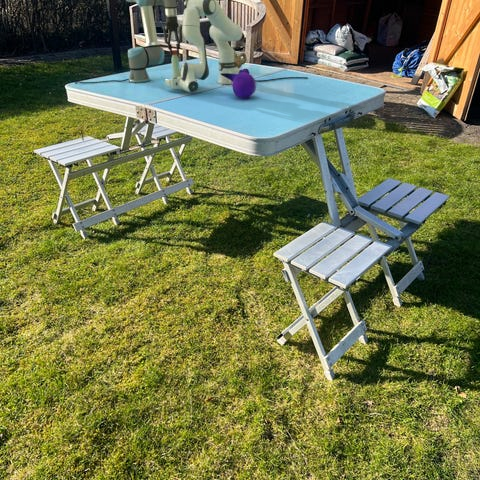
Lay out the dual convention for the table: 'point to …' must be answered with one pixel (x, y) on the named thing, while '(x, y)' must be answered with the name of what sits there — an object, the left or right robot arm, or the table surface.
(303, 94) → the table surface
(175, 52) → the cap
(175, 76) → the bottle
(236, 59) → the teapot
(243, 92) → the toy
